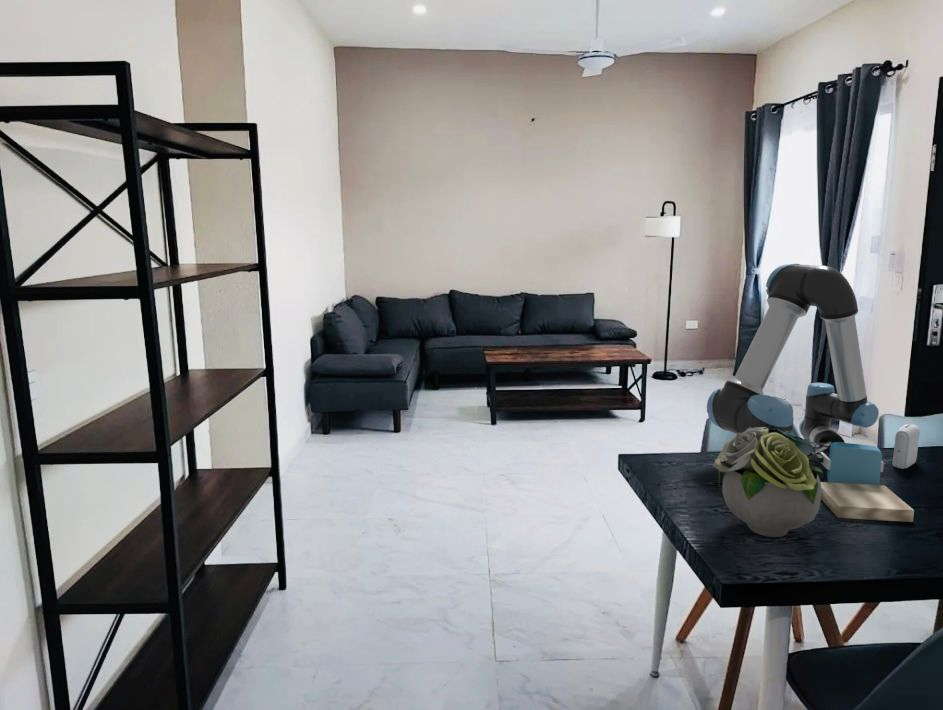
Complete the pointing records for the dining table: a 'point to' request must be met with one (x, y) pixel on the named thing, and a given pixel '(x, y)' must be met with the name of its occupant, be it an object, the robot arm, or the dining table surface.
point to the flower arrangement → (770, 480)
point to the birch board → (865, 502)
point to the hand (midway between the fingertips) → (855, 465)
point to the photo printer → (906, 446)
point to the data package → (854, 464)
